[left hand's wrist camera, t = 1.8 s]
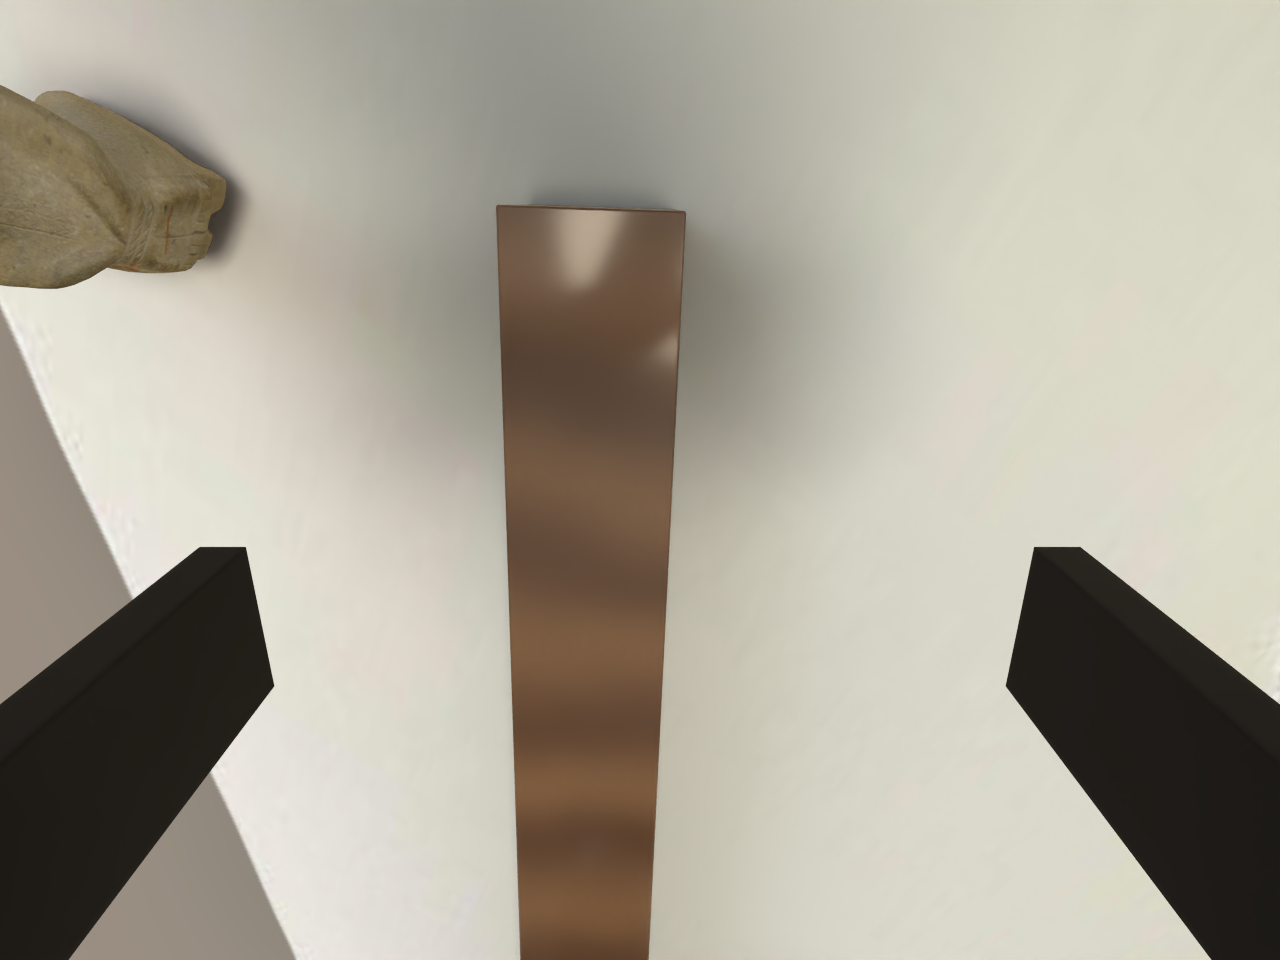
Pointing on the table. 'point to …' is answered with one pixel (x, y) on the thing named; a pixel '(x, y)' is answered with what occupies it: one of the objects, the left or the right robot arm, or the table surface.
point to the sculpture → (94, 195)
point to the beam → (587, 558)
